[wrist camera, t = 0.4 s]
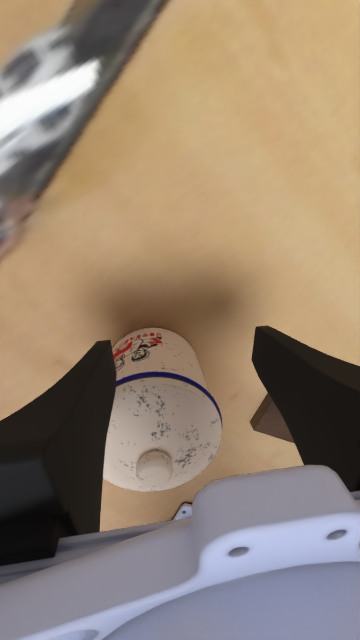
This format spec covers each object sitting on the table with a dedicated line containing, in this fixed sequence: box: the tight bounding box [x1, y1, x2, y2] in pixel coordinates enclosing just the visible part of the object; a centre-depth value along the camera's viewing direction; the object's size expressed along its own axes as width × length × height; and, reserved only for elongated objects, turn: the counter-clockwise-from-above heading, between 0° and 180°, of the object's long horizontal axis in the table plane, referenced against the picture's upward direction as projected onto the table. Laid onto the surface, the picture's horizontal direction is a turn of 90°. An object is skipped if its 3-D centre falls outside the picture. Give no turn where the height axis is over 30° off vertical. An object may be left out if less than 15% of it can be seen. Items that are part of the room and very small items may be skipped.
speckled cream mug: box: [103, 328, 222, 492], centre depth 19 cm, size 12×9×12 cm
